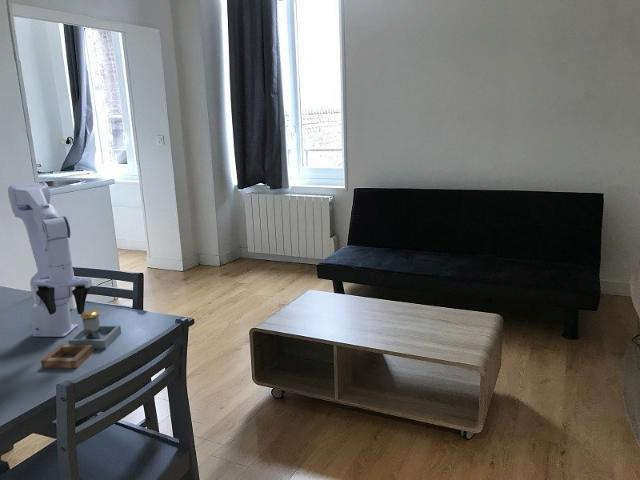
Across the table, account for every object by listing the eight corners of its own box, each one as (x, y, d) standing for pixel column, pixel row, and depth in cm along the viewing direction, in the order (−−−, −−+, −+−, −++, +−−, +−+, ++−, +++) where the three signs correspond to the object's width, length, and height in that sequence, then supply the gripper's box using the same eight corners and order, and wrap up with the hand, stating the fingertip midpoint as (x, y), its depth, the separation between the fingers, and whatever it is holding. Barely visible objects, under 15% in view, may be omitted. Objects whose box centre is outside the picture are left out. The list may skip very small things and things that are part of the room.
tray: (69, 348, 142) (68, 340, 141) (87, 333, 151) (86, 325, 151) (105, 349, 141) (104, 340, 141) (121, 333, 151) (120, 325, 150)
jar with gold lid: (81, 343, 143) (77, 316, 141) (89, 336, 148) (85, 309, 146) (97, 344, 143) (93, 316, 141) (105, 336, 147) (101, 310, 145)
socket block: (42, 367, 132) (40, 360, 131) (60, 351, 140) (59, 344, 140) (77, 368, 131) (76, 360, 131) (94, 351, 140) (93, 344, 139)
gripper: (23, 268, 133) (31, 319, 136) (80, 267, 133) (87, 318, 136) (38, 261, 140) (46, 309, 143) (92, 260, 140) (98, 308, 143)
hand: (67, 313), depth 140 cm, fingers open, 7 cm apart
